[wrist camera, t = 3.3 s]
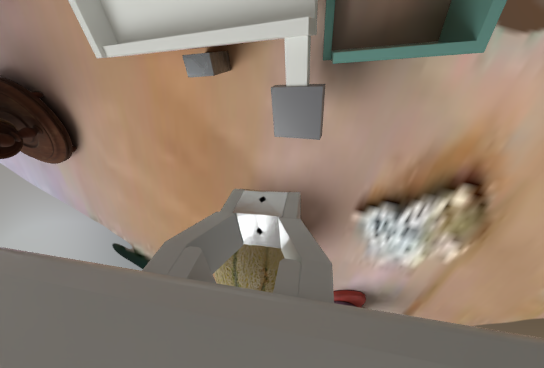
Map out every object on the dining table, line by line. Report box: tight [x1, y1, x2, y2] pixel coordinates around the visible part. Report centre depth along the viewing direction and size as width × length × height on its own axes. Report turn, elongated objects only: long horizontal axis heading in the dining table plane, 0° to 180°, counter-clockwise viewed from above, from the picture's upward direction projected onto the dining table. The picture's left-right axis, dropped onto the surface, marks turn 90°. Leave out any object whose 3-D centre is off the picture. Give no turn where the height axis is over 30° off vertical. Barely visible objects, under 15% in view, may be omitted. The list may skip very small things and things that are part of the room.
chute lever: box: [68, 0, 325, 140], centre depth 20 cm, size 16×25×4 cm, turn 95°
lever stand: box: [182, 51, 231, 77], centre depth 19 cm, size 12×3×5 cm, turn 5°
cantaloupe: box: [214, 244, 284, 293], centre depth 35 cm, size 15×15×15 cm
